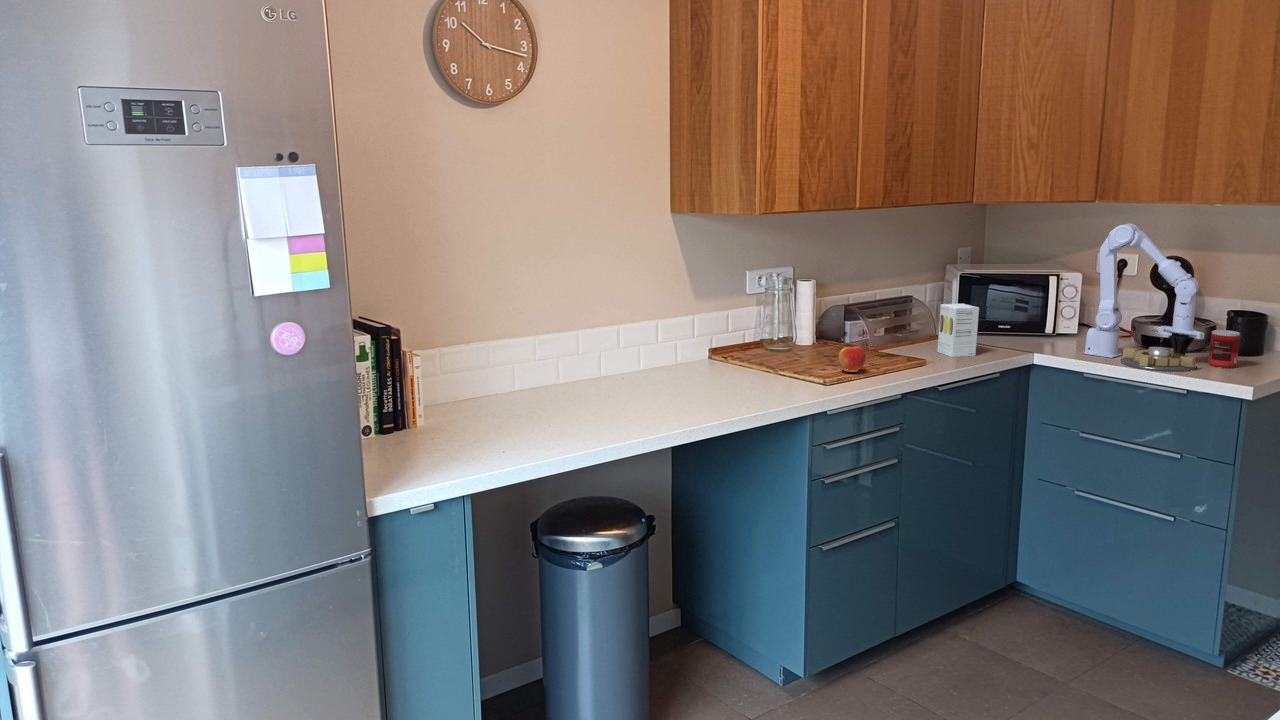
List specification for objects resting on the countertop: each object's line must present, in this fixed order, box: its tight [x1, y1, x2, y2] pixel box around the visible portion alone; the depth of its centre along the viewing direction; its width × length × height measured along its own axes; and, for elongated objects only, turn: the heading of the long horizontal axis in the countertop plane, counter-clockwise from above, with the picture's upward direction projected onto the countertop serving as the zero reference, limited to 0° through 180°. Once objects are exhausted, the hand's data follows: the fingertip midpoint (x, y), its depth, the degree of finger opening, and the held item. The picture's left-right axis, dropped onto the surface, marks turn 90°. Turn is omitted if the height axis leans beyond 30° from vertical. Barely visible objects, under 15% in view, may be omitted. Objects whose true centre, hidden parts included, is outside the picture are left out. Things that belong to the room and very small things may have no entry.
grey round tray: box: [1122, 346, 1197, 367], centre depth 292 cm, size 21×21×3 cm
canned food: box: [1207, 329, 1241, 369], centre depth 289 cm, size 8×8×11 cm
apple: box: [838, 340, 866, 370], centre depth 282 cm, size 8×8×10 cm
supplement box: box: [937, 303, 980, 358], centre depth 310 cm, size 10×9×17 cm
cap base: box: [1120, 346, 1197, 373], centre depth 293 cm, size 21×23×5 cm
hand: (1179, 357), depth 294 cm, fingers closed, pressing on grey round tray
